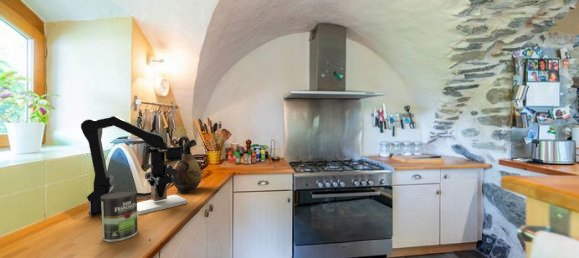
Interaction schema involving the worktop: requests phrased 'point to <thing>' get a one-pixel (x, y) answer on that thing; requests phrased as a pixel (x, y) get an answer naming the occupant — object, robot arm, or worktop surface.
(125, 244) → the worktop surface
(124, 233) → the coffee can
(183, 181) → the ceramic jug
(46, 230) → the worktop surface
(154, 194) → the walnut block
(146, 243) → the worktop surface
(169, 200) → the chopping board
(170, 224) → the worktop surface
